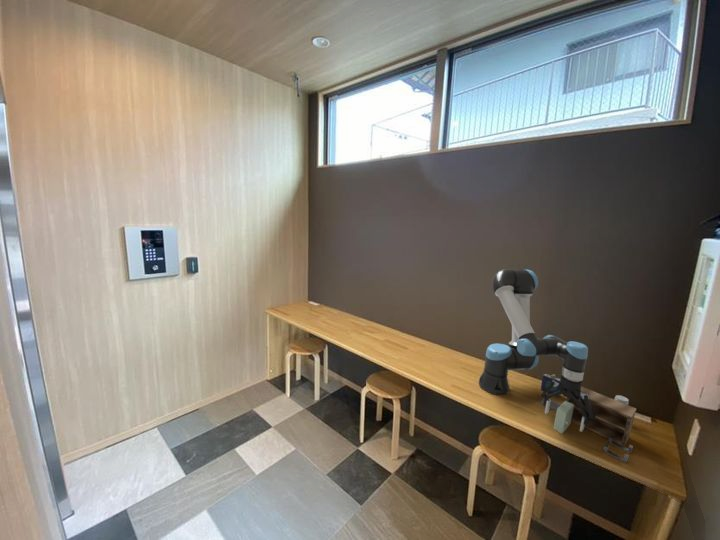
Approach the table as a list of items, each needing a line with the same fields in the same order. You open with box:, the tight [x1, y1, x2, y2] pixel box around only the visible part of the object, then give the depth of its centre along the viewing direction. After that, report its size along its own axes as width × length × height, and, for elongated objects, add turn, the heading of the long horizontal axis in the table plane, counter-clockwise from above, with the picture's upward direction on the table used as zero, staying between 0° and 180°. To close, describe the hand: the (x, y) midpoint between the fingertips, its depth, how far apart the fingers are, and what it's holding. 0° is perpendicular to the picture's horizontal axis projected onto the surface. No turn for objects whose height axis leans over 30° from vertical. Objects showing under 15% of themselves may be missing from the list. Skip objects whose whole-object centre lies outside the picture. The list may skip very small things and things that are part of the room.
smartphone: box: [539, 398, 562, 412], centre depth 145 cm, size 8×1×15 cm
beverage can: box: [613, 394, 630, 405], centre depth 136 cm, size 5×5×12 cm
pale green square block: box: [553, 400, 574, 434], centre depth 131 cm, size 4×10×10 cm, turn 128°
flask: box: [540, 373, 562, 397], centre depth 157 cm, size 9×3×11 cm, turn 51°
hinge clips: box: [603, 436, 634, 464], centre depth 119 cm, size 7×10×2 cm
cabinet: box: [566, 385, 637, 447], centre depth 132 cm, size 22×9×14 cm, turn 38°
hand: (563, 421), depth 131 cm, fingers open, 13 cm apart
